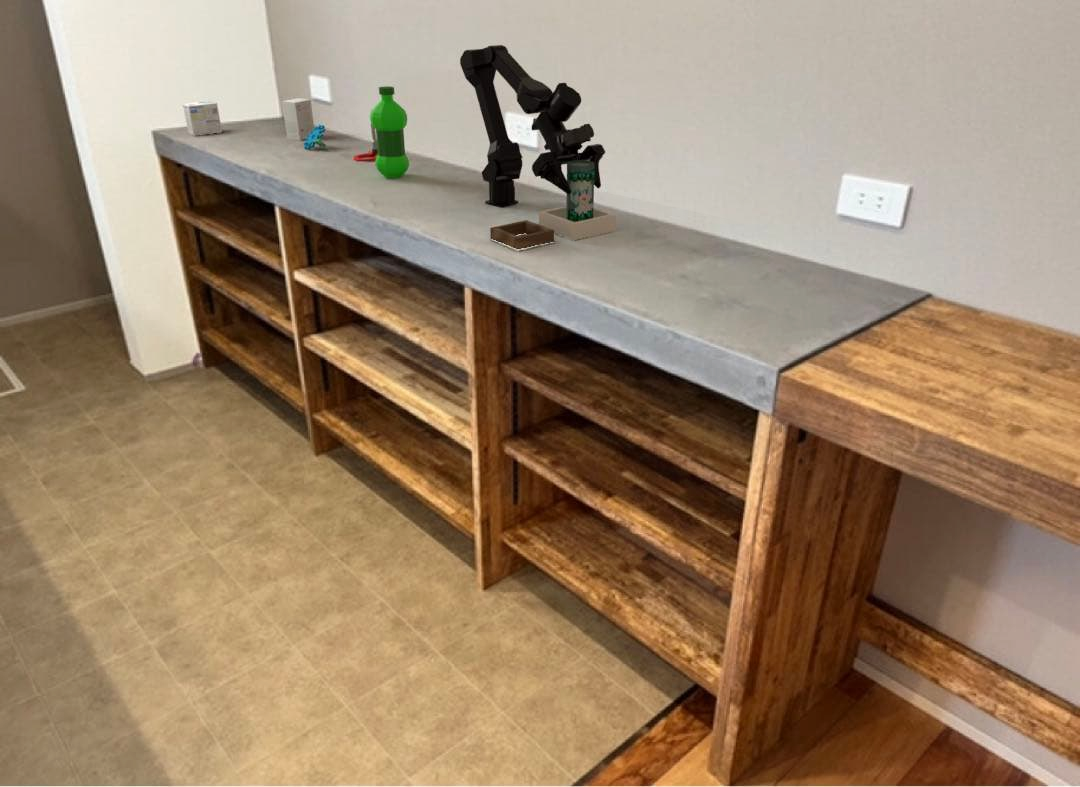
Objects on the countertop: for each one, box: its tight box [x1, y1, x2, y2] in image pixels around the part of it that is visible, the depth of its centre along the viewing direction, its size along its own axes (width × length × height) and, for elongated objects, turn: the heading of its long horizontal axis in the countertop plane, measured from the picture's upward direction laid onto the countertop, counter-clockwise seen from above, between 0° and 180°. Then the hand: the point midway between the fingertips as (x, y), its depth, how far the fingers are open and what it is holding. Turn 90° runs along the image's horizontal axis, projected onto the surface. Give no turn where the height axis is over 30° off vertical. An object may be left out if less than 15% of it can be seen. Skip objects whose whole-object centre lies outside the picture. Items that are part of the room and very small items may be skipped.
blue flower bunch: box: [303, 124, 328, 151], centre depth 281 cm, size 11×6×10 cm
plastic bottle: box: [369, 85, 410, 179], centre depth 241 cm, size 10×10×25 cm
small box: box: [281, 97, 315, 141], centre depth 295 cm, size 8×6×13 cm
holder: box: [489, 219, 555, 249], centre depth 190 cm, size 10×10×3 cm
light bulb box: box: [182, 100, 223, 137], centre depth 302 cm, size 11×7×11 cm, turn 130°
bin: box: [538, 205, 617, 241], centre depth 198 cm, size 13×13×4 cm
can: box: [565, 160, 595, 222], centre depth 195 cm, size 6×6×15 cm
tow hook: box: [353, 123, 378, 162], centre depth 265 cm, size 8×13×9 cm
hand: (585, 190), depth 193 cm, fingers open, 9 cm apart
